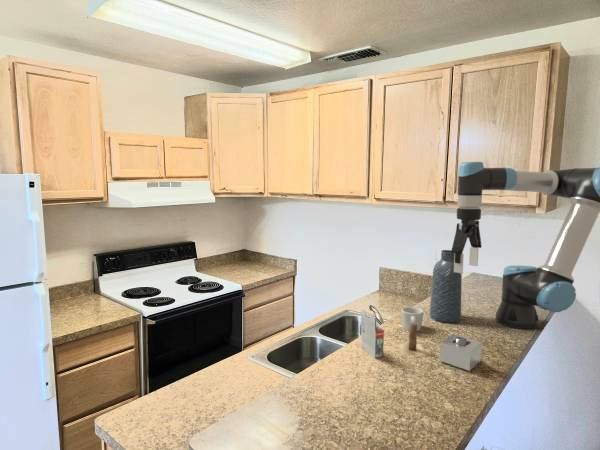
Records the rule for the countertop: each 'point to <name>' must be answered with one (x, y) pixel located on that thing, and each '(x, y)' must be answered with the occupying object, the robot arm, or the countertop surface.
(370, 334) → the ink box
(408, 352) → the stand
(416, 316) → the cup
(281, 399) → the countertop surface
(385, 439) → the countertop surface
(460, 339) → the cylinder
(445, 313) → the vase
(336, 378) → the countertop surface
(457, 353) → the square through-hole block
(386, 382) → the countertop surface
